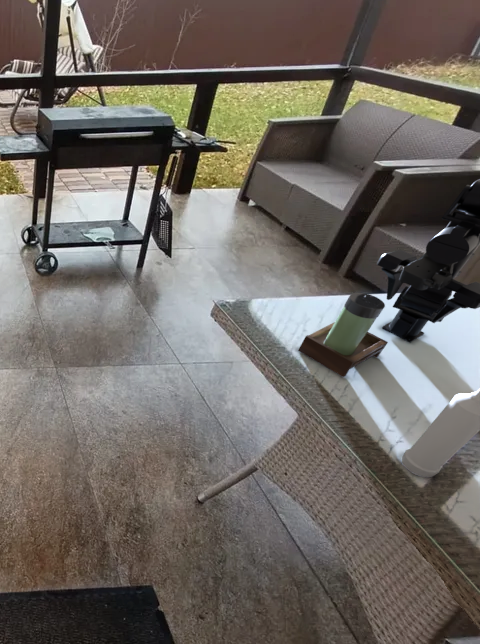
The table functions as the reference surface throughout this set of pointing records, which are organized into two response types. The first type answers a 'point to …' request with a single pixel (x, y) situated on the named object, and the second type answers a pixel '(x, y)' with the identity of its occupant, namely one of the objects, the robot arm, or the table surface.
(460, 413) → the bottle
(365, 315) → the spice jar
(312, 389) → the table surface
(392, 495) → the table surface
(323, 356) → the wooden tray
